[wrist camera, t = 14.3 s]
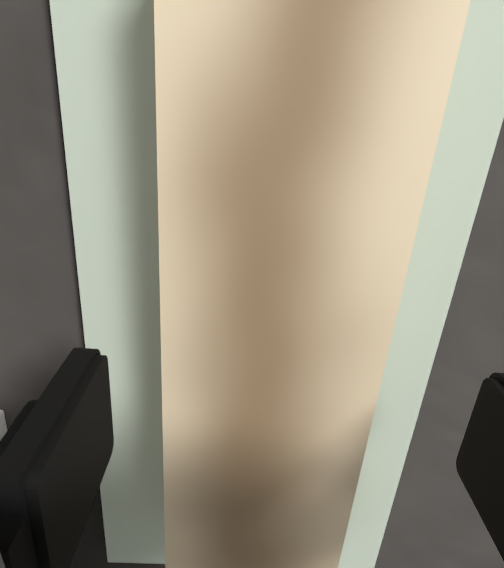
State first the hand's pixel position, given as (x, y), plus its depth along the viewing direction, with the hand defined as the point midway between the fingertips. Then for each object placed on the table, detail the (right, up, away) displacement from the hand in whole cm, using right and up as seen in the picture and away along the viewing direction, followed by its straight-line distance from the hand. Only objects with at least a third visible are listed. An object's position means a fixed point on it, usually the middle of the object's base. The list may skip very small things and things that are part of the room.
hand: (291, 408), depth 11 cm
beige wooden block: (-1, +2, +4) cm, 4 cm away
